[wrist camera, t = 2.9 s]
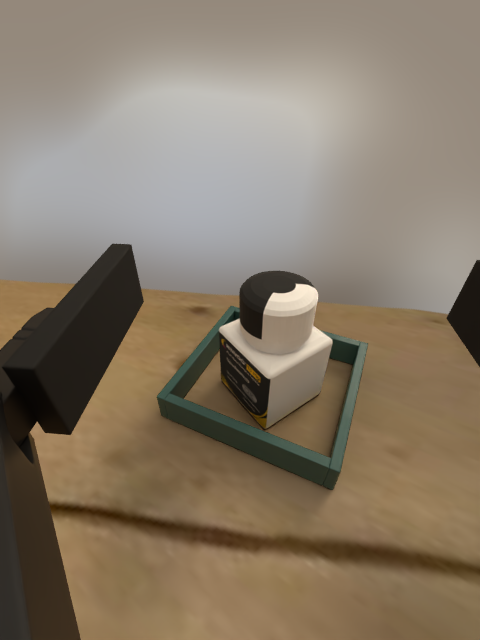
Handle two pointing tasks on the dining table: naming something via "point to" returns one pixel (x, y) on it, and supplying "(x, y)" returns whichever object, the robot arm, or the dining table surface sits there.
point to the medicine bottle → (274, 346)
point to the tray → (251, 437)
